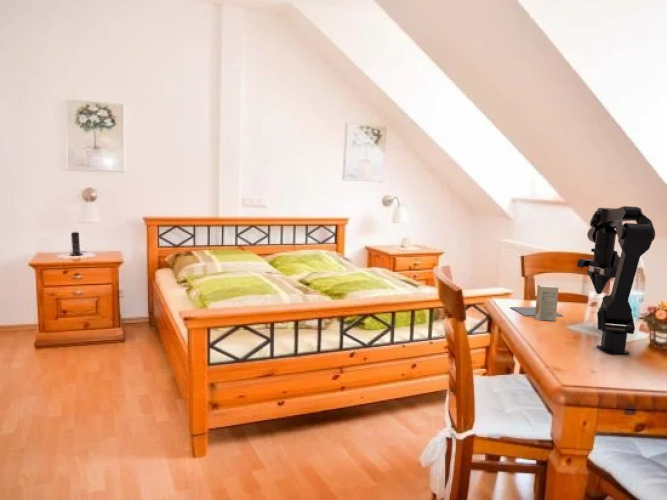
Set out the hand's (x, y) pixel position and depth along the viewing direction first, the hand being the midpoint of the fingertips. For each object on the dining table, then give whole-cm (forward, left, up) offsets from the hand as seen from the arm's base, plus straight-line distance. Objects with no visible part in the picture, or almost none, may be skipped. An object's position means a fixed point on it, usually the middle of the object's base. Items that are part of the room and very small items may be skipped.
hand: (598, 293), depth 174 cm
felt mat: (+24, +8, -13) cm, 28 cm away
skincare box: (+15, +9, -13) cm, 22 cm away
